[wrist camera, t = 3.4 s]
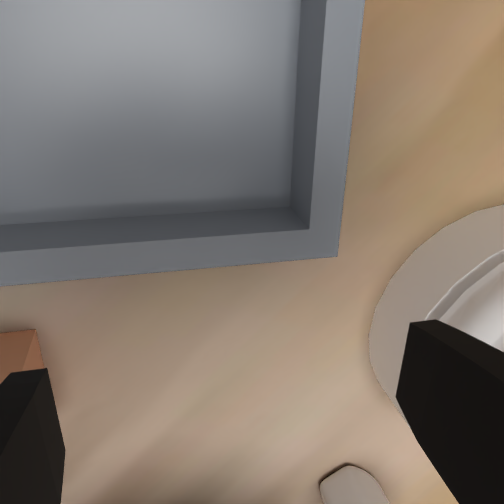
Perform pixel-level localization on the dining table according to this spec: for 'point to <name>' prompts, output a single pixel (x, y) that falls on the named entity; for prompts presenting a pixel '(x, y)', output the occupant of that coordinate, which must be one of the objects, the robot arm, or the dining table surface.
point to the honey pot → (443, 292)
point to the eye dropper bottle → (352, 488)
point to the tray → (172, 134)
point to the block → (19, 352)
